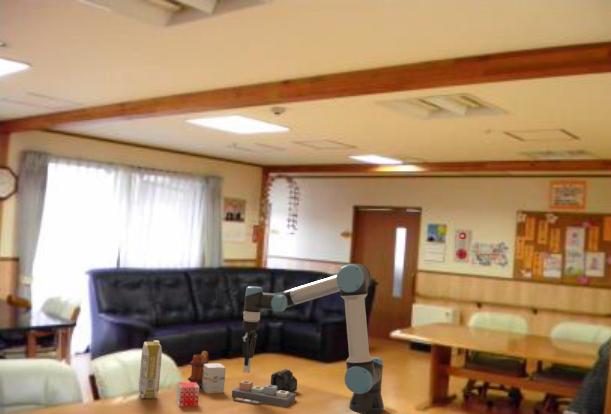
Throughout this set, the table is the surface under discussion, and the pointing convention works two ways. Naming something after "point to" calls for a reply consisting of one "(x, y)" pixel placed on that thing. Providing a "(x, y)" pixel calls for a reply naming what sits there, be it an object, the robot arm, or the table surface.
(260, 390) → the key sage
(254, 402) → the tile
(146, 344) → the juice carton
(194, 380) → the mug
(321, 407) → the table surface
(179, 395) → the small box
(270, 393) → the key slate
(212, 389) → the ink box
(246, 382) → the key terracotta
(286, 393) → the key ivory
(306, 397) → the table surface
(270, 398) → the keypad base
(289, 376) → the camera
